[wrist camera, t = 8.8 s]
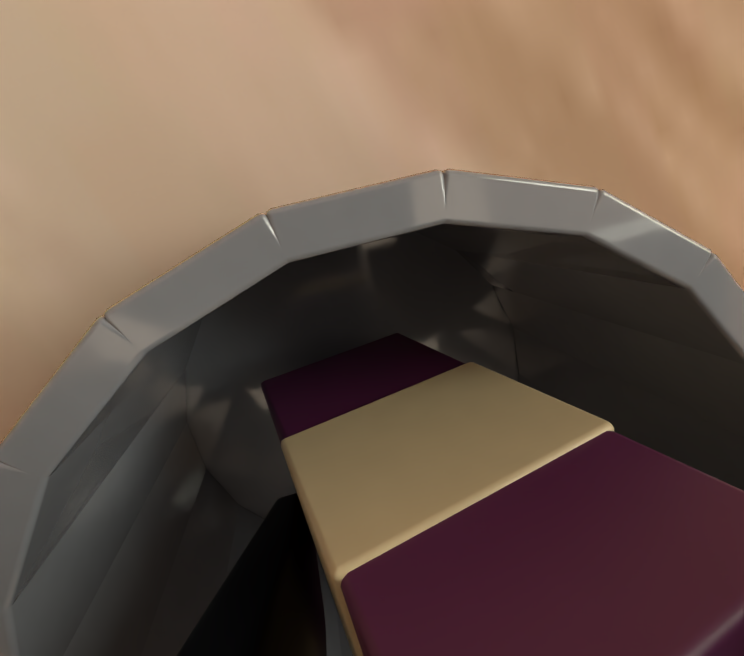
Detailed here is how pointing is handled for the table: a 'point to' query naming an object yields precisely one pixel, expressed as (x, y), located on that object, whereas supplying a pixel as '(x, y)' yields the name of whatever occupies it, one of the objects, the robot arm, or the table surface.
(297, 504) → the robot arm
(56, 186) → the table surface
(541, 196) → the steel cup
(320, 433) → the juice carton
